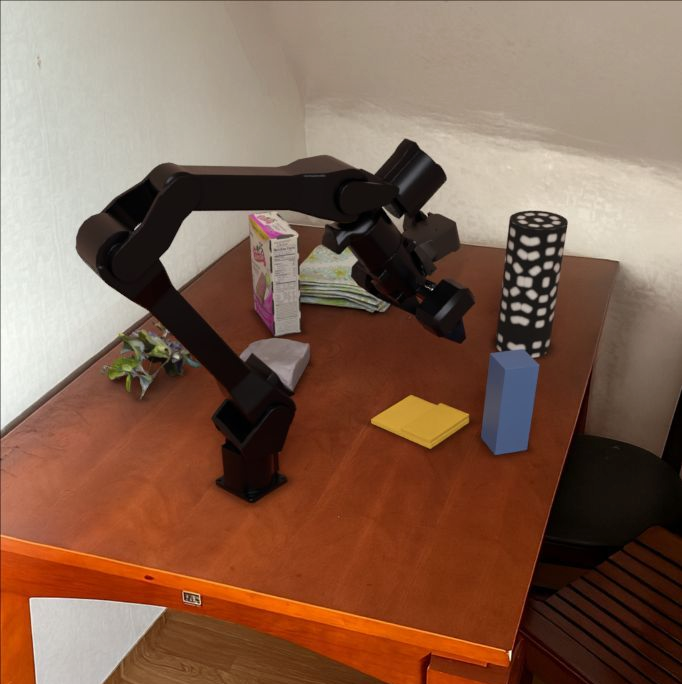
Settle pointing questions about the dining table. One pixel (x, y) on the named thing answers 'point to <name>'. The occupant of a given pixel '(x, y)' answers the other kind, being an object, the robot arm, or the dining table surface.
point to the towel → (334, 281)
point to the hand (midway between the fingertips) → (440, 326)
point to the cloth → (421, 421)
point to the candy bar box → (275, 272)
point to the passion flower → (149, 357)
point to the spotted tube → (530, 281)
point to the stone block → (281, 358)
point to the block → (509, 401)
